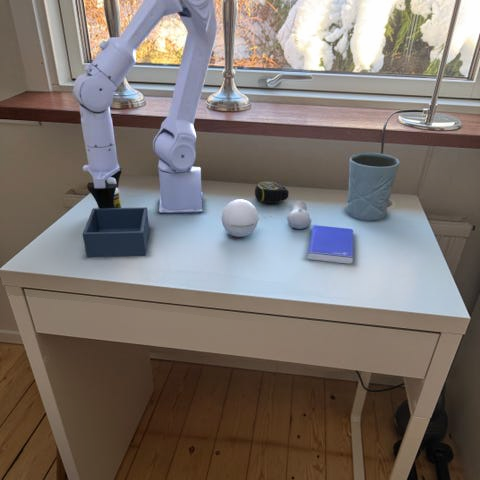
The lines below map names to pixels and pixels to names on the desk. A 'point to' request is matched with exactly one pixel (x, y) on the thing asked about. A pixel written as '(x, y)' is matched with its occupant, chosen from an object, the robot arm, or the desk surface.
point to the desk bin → (116, 232)
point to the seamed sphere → (240, 218)
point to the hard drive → (331, 244)
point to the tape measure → (270, 192)
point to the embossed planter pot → (370, 185)
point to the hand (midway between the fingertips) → (110, 209)
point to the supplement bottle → (117, 196)
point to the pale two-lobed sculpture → (298, 215)
